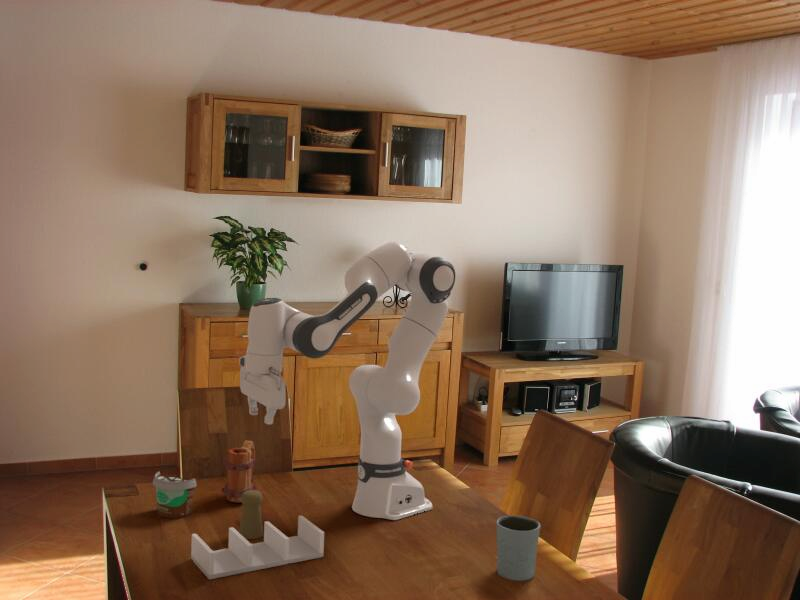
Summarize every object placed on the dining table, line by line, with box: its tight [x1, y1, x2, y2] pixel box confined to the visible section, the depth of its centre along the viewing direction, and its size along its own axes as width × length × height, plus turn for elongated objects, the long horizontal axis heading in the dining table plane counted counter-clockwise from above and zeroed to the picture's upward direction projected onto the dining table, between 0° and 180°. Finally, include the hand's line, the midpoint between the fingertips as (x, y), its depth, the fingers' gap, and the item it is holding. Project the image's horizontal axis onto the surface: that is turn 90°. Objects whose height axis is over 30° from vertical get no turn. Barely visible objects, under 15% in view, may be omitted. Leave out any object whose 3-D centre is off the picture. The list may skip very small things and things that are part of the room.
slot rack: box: [190, 515, 325, 580], centre depth 204 cm, size 28×12×6 cm, turn 122°
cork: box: [238, 489, 264, 540], centre depth 217 cm, size 6×6×11 cm
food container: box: [152, 471, 197, 519], centre depth 228 cm, size 12×6×10 cm, turn 68°
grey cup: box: [496, 515, 541, 582], centre depth 202 cm, size 10×10×12 cm
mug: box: [221, 440, 256, 504], centre depth 243 cm, size 15×8×15 cm, turn 168°
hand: (260, 419), depth 216 cm, fingers open, 8 cm apart
